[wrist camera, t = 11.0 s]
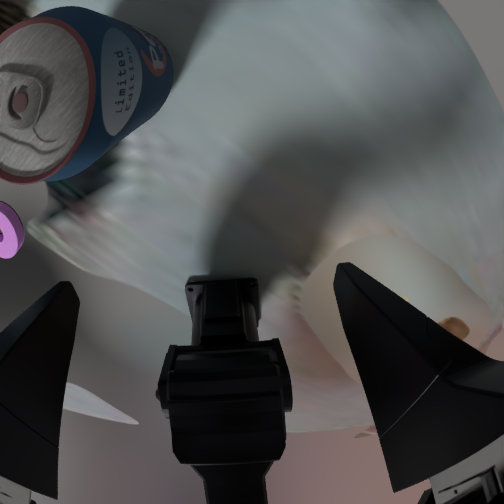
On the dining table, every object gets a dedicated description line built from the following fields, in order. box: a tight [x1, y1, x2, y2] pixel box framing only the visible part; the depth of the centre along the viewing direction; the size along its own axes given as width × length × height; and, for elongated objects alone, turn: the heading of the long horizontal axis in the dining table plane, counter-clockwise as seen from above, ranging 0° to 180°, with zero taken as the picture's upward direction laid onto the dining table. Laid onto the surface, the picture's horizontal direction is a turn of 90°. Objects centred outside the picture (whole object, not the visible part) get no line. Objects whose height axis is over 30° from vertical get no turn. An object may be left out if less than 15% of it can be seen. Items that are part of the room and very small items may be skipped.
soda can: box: [0, 6, 173, 185], centre depth 11 cm, size 7×7×12 cm
